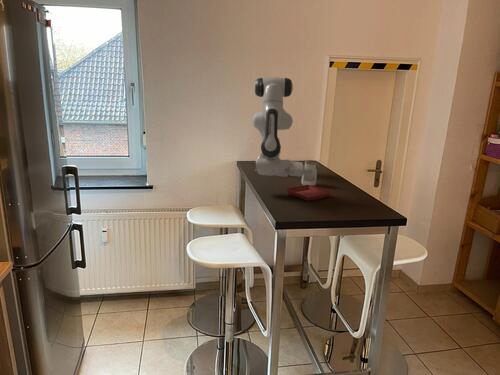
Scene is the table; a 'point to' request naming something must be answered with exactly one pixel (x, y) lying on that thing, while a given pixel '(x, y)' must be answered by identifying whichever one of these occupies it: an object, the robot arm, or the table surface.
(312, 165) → the canister
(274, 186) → the table surface
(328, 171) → the table surface
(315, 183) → the jar
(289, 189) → the plant saucer
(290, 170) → the robot arm
